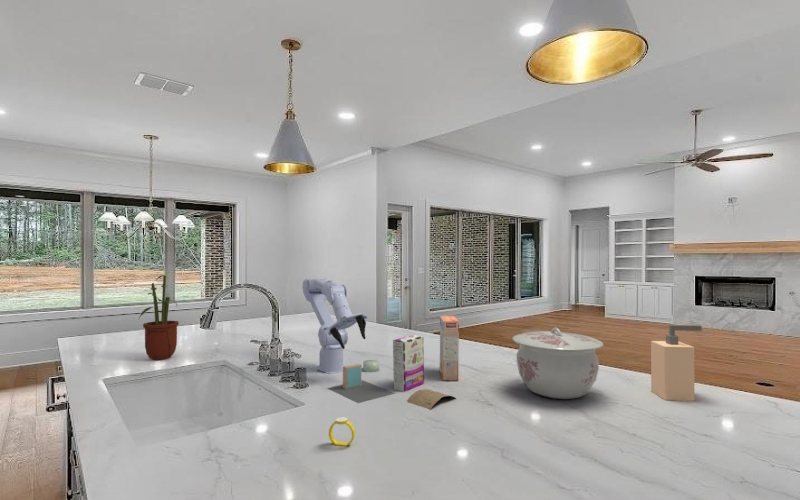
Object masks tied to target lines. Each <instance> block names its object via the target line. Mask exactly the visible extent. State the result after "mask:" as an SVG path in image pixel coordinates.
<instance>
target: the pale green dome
mask: <svg viewBox="0 0 800 500" xmlns="http://www.w3.org/2000/svg"><path fill="white" fill-rule="evenodd" d="M362 370H363V372H365V373H377V372H379V371H380V361H379V360H378V359H368V360H363V364H362Z"/></svg>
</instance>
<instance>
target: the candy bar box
mask: <svg viewBox="0 0 800 500" xmlns="http://www.w3.org/2000/svg"><path fill="white" fill-rule="evenodd" d="M392 350H393V351H392V358H393V367H392V368H393V390H396V391H400V392H405V393H406V392H408V391H410V390H412V389H415V388H417V387H421V386H423V385H424V384H425V368H424V366H425V363H424V362H425V361H424V358H425V357H424V356H425V355H424V353H425V351H424V350H425V349H424V335H419V334H411V335H406V336H403V337H400V338H394V339H393V340H392Z"/></svg>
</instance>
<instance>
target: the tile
mask: <svg viewBox="0 0 800 500" xmlns="http://www.w3.org/2000/svg"><path fill="white" fill-rule="evenodd" d="M361 381H362V364H360V363H356V364H351V365H345V366H344V365H343V372H342V385H343V388H344V389H350V388H355V387H359V386H361Z"/></svg>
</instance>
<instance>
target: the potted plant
mask: <svg viewBox="0 0 800 500" xmlns="http://www.w3.org/2000/svg"><path fill="white" fill-rule="evenodd" d="M160 278H162V285H160V287H161V288H162V296H161V297H162V298H161V299H160V298H158V297H157V292H156V290H157V289H158V288H157V287H155V283H154V282H152V283H151V287H150V290H151V291H152V292H148V293H147V295H148V296H149V295H151V296H152V297H153V298H152V299H153V306H151V307H147V308H145V309H144V310H142V312H141V314H140V316H139V318H138V320H140V318H141V317H142V316H143V315H144V314H145V313H146V312H148V311H149V310H151V309H153V308H154V309H153V311H154V321H148V322H144V323H143V324H142V325H143V328H144V348H145V353H146V355H147V356H148V358H149V359H151V360H153V361H163V360H168V359H169V358H171V357H173V355H174V354H175V352H176V349H177V344H178V343H177V342H178V340H177V339H178V326H179V324H180V323H179V321H178V320H168V315H169V308H170V307H169V306H170V302H173V303H175V301H173V300H171V297H170V296H166V295H168V294H166V287H167V285H166V284H167V275H166V274H165V275H163V274H162V275H159V276H158V277H157V278H156V279H155V281H157V280H159V279H160ZM159 302H161V310H159V305H158V303H159ZM175 305H176V306H178V304H177V303H175ZM159 313H161V320H160V316H159V315H160V314H159Z"/></svg>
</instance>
